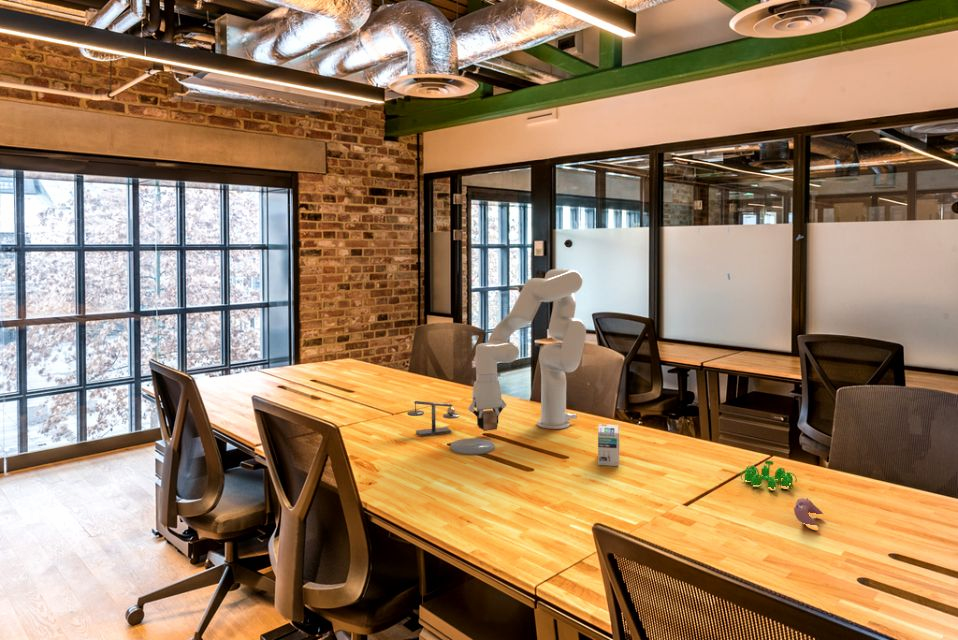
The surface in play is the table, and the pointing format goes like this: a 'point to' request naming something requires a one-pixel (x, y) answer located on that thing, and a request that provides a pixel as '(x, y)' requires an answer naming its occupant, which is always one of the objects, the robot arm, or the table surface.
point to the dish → (472, 446)
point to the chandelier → (757, 479)
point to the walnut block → (489, 420)
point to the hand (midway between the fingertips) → (487, 426)
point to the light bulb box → (608, 445)
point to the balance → (434, 418)
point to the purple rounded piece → (805, 511)
